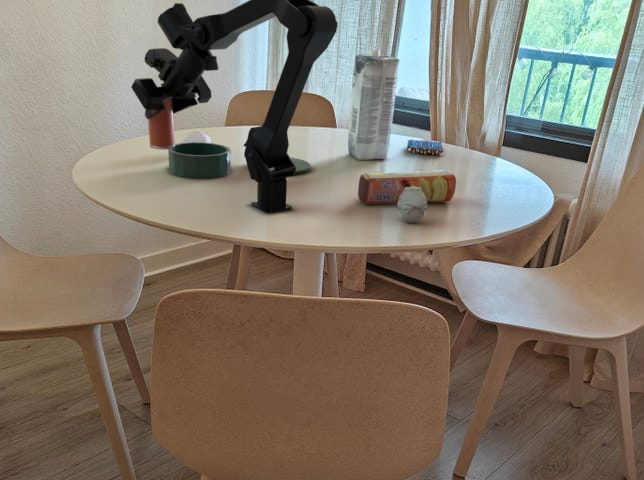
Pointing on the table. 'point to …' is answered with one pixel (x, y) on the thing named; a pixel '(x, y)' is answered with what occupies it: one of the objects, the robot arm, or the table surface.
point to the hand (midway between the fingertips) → (156, 115)
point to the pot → (199, 160)
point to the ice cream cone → (196, 137)
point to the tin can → (162, 127)
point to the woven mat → (425, 146)
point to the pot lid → (298, 165)
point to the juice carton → (372, 105)
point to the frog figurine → (412, 204)
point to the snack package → (393, 184)
